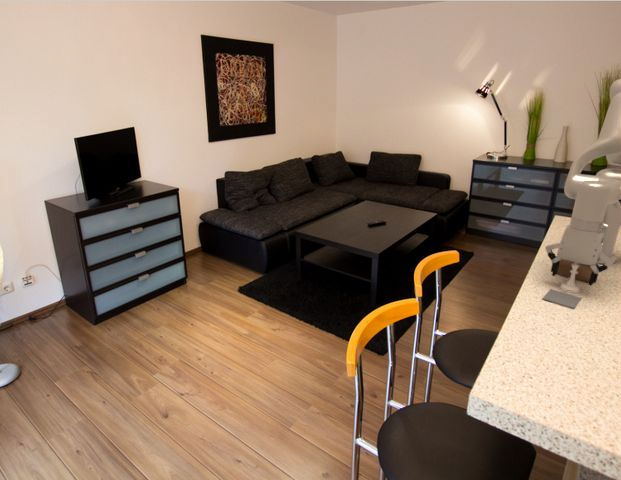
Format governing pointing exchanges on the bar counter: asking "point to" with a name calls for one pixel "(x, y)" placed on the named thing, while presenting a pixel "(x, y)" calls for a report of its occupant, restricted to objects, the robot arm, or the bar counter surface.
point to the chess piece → (571, 280)
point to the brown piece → (583, 270)
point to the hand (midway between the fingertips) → (572, 279)
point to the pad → (562, 299)
